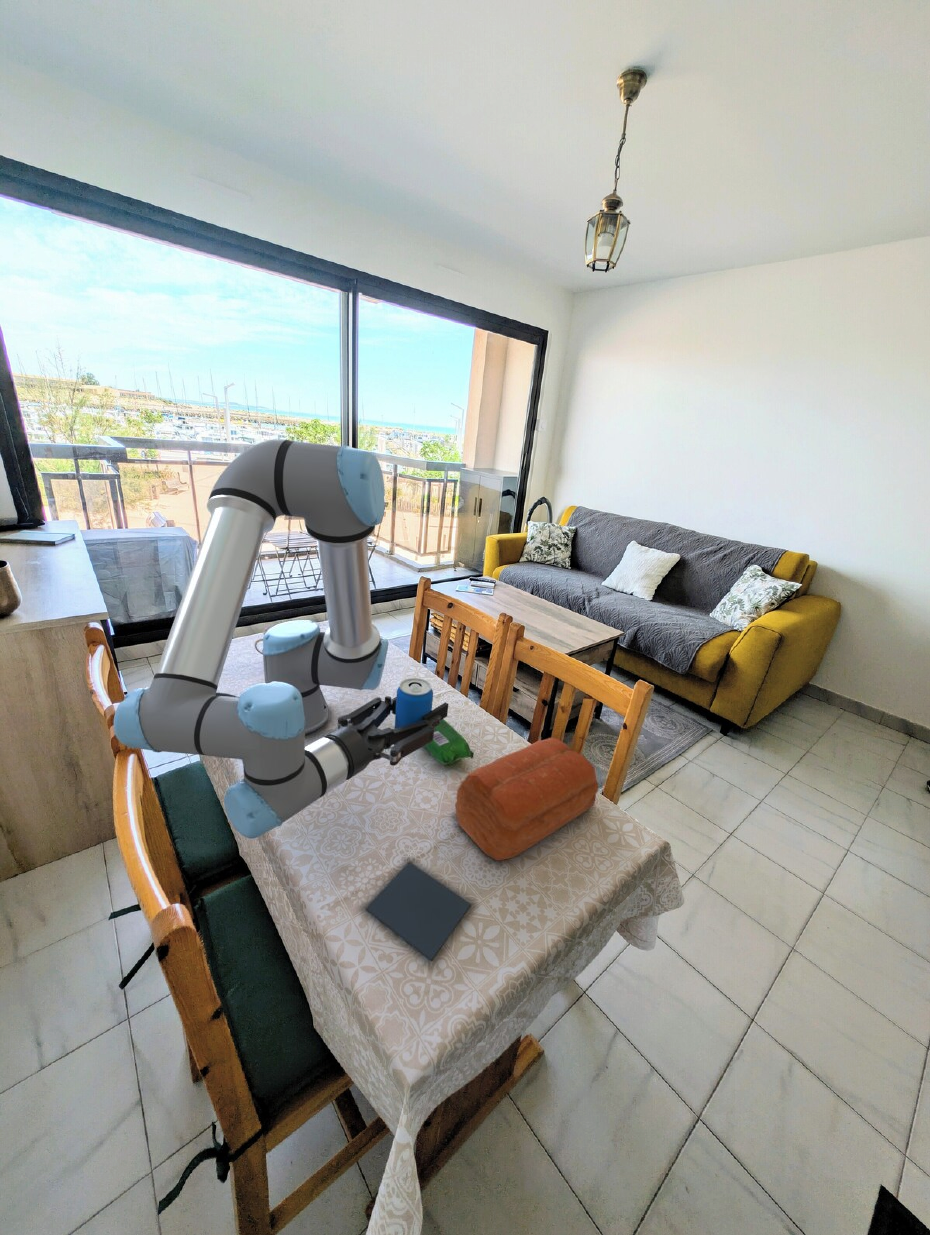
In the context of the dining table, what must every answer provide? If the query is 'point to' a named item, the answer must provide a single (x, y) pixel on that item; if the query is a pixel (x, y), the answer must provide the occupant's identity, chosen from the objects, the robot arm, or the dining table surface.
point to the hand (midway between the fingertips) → (431, 701)
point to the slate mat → (419, 909)
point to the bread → (525, 797)
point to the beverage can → (412, 701)
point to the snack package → (448, 744)
